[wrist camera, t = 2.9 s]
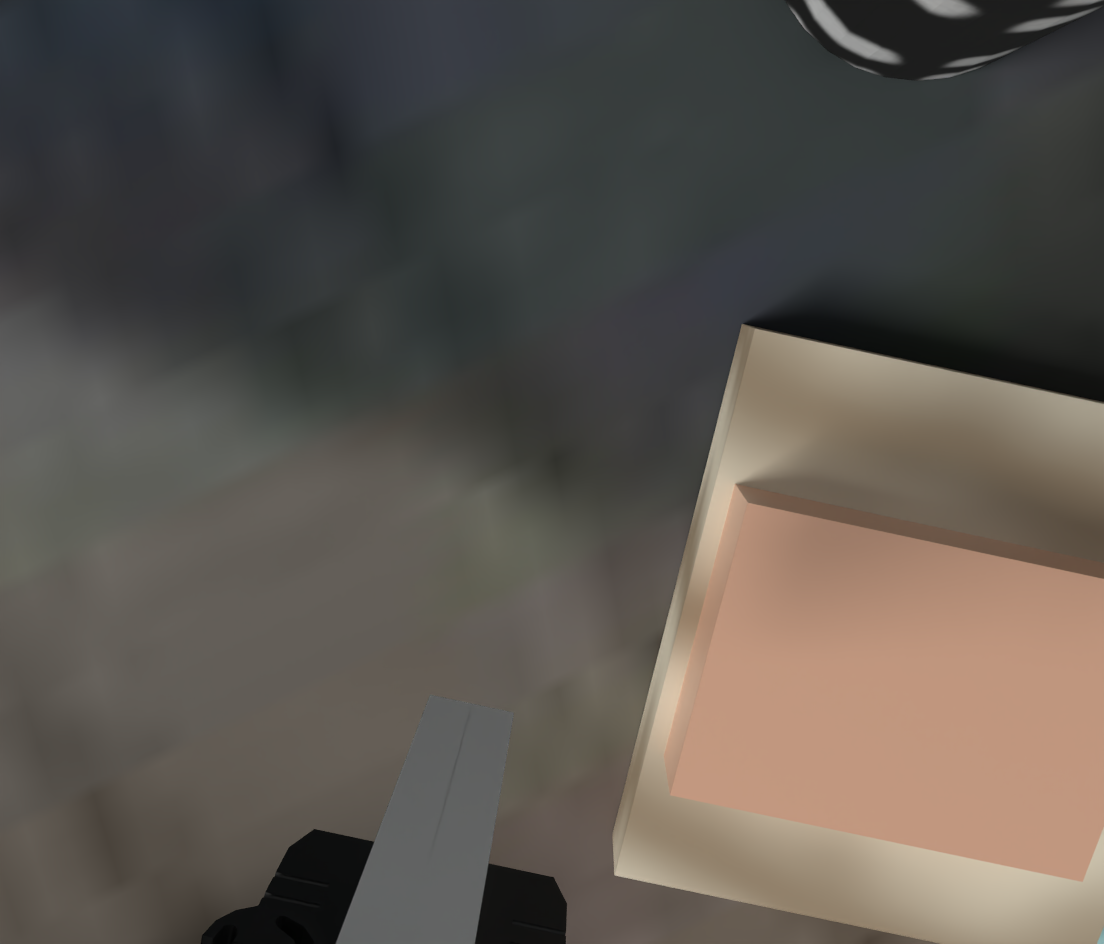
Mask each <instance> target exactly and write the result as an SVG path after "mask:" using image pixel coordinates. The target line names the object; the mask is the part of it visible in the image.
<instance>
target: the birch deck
mask: <svg viewBox="0 0 1104 944" xmlns="http://www.w3.org/2000/svg"><path fill="white" fill-rule="evenodd" d="M735 484H738V485H743V486H747V487H752V488H757V489H761V490H766V491H771V492H775V493H780V494H785V495H789V496H794V497H799V498H803V499H808V500H813V501H817V502H822V503H827V504H831V505H836V506H841V507H845V508H850V509H855V510H859V511H864V512H869V513H873V514H878V515H883V516H887V517H892V518H897V519H901V520H906V521H911V522H915V523H920V524H925V525H929V526H934V527H939V528H943V529H948V530H953V531H957V532H962V533H967V534H971V535H976V536H981V537H985V538H990V539H995V540H999V541H1004V542H1009V543H1013V544H1018V545H1023V546H1027V547H1032V548H1037V549H1041V550H1046V551H1051V552H1055V553H1060V554H1065V555H1069V556H1074V557H1079V558H1083V559H1088V560H1093V561H1097V562H1102V563H1104V402H1101V401H1096V400H1092V399H1087V398H1083V397H1078V396H1073V395H1069V394H1064V393H1059V392H1055V391H1050V390H1046V389H1041V388H1036V387H1032V386H1027V385H1022V384H1018V383H1013V382H1009V381H1004V380H999V379H995V378H990V377H985V376H981V375H976V374H972V373H967V372H962V371H958V370H953V369H949V368H944V367H939V366H935V365H930V364H925V363H921V362H916V361H912V360H907V359H902V358H898V357H893V356H888V355H884V354H879V353H875V352H870V351H865V350H861V349H856V348H851V347H847V346H842V345H838V344H833V343H828V342H824V341H819V340H815V339H810V338H805V337H801V336H796V335H791V334H787V333H782V332H778V331H773V330H768V329H764V328H759V327H754V326H750V325H745V324H742V326H741V330H740V334H739V338H738V342H737V346H736V350H735V354H734V358H733V362H732V366H731V370H730V374H729V377H728V381H727V385H726V389H725V393H724V397H723V401H722V405H721V409H720V413H719V417H718V421H717V425H716V429H715V433H714V437H713V441H712V444H711V448H710V452H709V456H708V460H707V464H706V468H705V472H704V476H703V480H702V484H701V488H700V492H699V496H698V500H697V504H696V508H695V511H694V515H693V519H692V523H691V527H690V531H689V535H688V539H687V543H686V547H685V551H684V555H683V559H682V563H681V567H680V571H679V575H678V578H677V582H676V586H675V590H674V594H673V598H672V602H671V606H670V610H669V614H668V618H667V622H666V626H665V630H664V634H663V638H662V642H661V645H660V649H659V653H658V657H657V661H656V665H655V669H654V673H653V677H652V681H651V685H650V689H649V693H648V697H647V701H646V705H645V709H644V712H643V716H642V720H641V724H640V728H639V732H638V736H637V740H636V744H635V748H634V752H633V756H632V760H631V764H630V768H629V772H628V776H627V779H626V783H625V787H624V791H623V795H622V799H621V803H620V807H619V811H618V815H617V819H616V823H615V827H614V831H613V853H614V874H615V876H620V877H625V878H630V879H635V880H639V881H644V882H649V883H654V884H658V885H663V886H668V887H673V888H678V889H682V890H687V891H692V892H697V893H702V894H706V895H711V896H716V897H721V898H725V899H730V900H735V901H740V902H745V903H749V904H754V905H759V906H764V907H768V908H773V909H778V910H783V911H788V912H792V913H797V914H802V915H807V916H812V917H816V918H821V919H826V920H831V921H835V922H840V923H845V924H850V925H855V926H859V927H864V928H869V929H874V930H879V931H883V932H888V933H893V934H898V935H902V936H907V937H912V938H917V939H922V940H926V941H931V942H936V943H941V944H1097V942H1098V940H1099V937H1100V935H1101V932H1102V930H1103V927H1104V828H1103V830H1102V833H1101V835H1100V838H1099V841H1098V843H1097V846H1096V848H1095V851H1094V854H1093V856H1092V859H1091V861H1090V864H1089V867H1088V869H1087V872H1086V875H1085V877H1084V880H1083V882H1080V881H1075V880H1071V879H1066V878H1061V877H1056V876H1052V875H1047V874H1042V873H1037V872H1033V871H1028V870H1023V869H1018V868H1013V867H1009V866H1004V865H999V864H994V863H990V862H985V861H980V860H975V859H971V858H966V857H961V856H956V855H952V854H947V853H942V852H937V851H933V850H928V849H923V848H918V847H914V846H909V845H904V844H899V843H895V842H890V841H885V840H880V839H876V838H871V837H866V836H861V835H857V834H852V833H847V832H842V831H837V830H833V829H828V828H823V827H818V826H814V825H809V824H804V823H799V822H795V821H790V820H785V819H780V818H776V817H771V816H766V815H761V814H757V813H752V812H747V811H742V810H738V809H733V808H728V807H723V806H719V805H714V804H709V803H704V802H700V801H695V800H690V799H685V798H680V797H676V796H671V795H670V792H669V786H668V780H667V774H666V767H665V761H664V753H665V749H666V745H667V741H668V737H669V734H670V730H671V726H672V722H673V718H674V715H675V711H676V707H677V703H678V699H679V695H680V692H681V688H682V684H683V680H684V676H685V673H686V669H687V665H688V661H689V657H690V653H691V650H692V646H693V642H694V638H695V634H696V631H697V627H698V623H699V619H700V615H701V611H702V608H703V604H704V600H705V596H706V592H707V588H708V585H709V581H710V577H711V573H712V569H713V566H714V562H715V558H716V554H717V550H718V546H719V543H720V539H721V535H722V531H723V527H724V524H725V520H726V516H727V512H728V508H729V504H730V501H731V497H732V493H733V489H734V485H735Z"/></svg>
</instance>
